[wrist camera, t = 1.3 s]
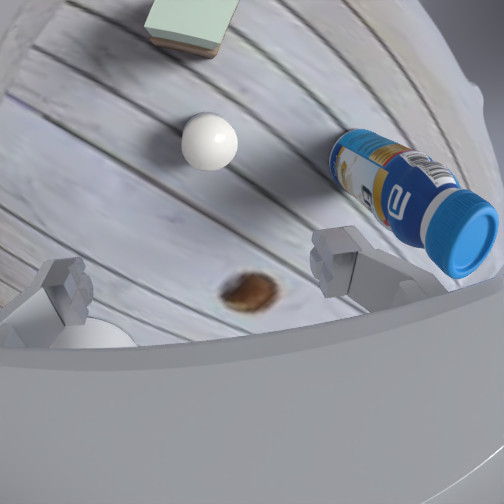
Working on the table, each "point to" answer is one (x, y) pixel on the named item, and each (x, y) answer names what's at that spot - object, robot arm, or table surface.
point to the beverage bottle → (416, 200)
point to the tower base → (186, 46)
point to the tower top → (191, 21)
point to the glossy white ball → (208, 141)
